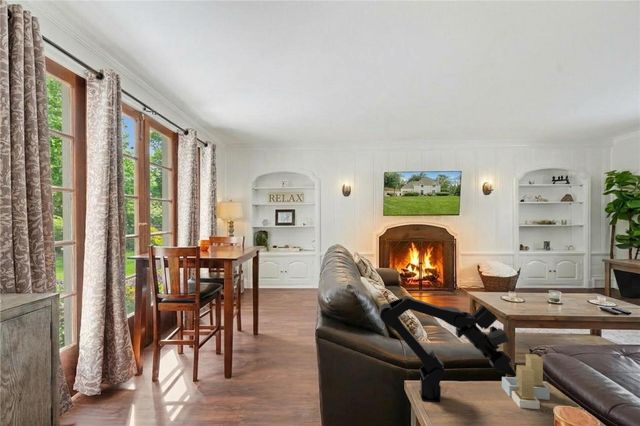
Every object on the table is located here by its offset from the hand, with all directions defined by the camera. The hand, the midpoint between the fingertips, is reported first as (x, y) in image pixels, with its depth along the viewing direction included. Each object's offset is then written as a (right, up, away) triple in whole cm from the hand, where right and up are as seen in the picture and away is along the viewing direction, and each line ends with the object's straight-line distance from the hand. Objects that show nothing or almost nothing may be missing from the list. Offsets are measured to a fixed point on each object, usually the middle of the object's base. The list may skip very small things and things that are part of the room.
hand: (509, 369), depth 117 cm
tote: (+5, -12, -1) cm, 13 cm away
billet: (+5, -12, -1) cm, 13 cm away
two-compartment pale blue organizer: (+9, -12, +6) cm, 16 cm away
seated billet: (+12, -10, +5) cm, 17 cm away
